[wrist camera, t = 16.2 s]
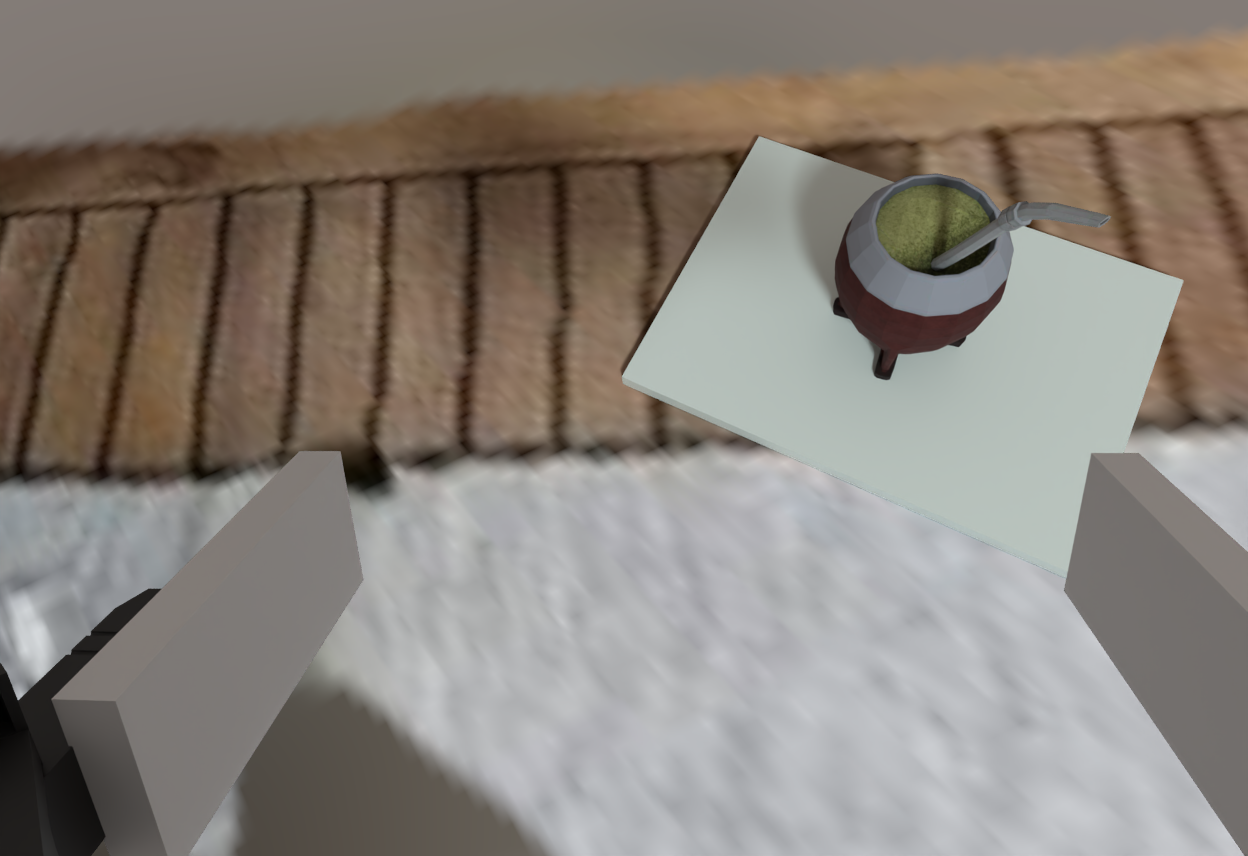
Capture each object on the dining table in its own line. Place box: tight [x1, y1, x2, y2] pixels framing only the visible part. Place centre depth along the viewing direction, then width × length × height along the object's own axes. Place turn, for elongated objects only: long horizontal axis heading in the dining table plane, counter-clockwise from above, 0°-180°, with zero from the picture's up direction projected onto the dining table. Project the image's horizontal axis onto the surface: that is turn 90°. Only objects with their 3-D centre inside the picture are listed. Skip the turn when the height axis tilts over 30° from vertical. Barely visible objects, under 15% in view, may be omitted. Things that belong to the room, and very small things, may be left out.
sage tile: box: [622, 136, 1184, 578], centre depth 42 cm, size 22×16×1 cm
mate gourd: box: [833, 174, 1111, 380], centre depth 35 cm, size 8×8×15 cm
